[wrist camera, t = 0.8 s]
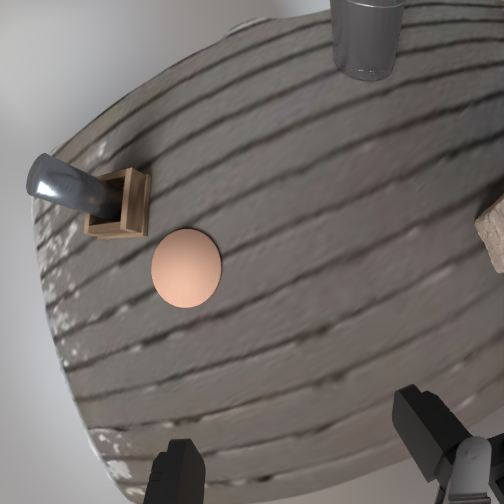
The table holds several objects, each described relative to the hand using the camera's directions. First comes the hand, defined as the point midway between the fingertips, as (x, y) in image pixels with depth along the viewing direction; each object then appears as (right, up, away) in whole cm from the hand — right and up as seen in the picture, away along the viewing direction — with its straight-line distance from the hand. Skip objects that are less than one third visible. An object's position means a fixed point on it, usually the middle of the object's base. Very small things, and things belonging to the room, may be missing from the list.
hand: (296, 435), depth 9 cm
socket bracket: (-21, +13, +31) cm, 39 cm away
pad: (-10, +5, +27) cm, 29 cm away
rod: (-21, +13, +30) cm, 39 cm away
